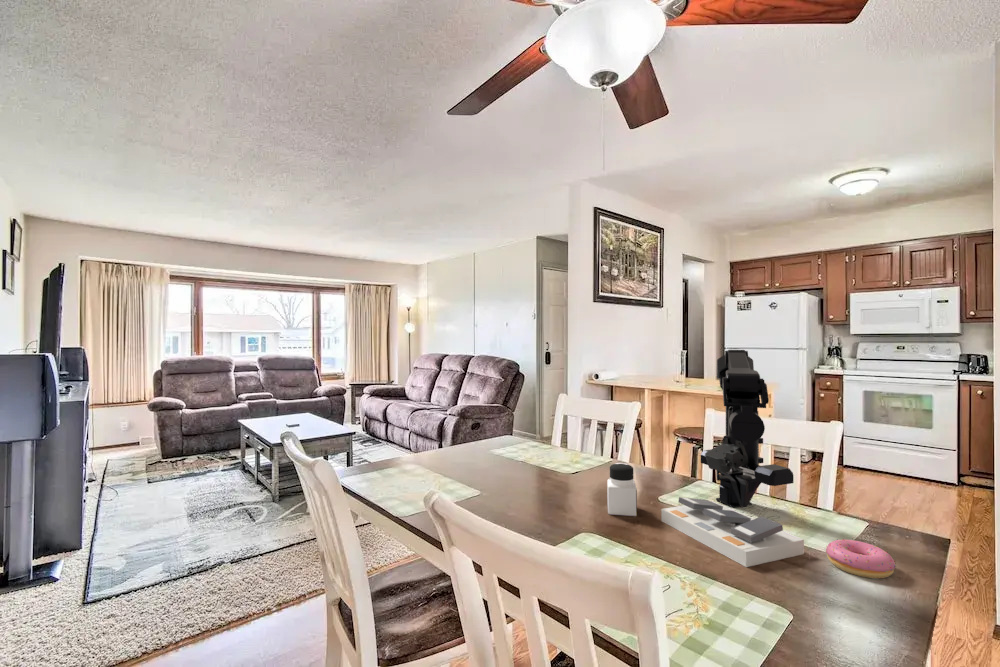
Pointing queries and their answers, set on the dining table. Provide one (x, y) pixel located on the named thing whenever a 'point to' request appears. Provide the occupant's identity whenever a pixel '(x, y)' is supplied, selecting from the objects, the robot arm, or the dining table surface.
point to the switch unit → (731, 537)
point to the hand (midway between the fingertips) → (743, 506)
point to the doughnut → (860, 558)
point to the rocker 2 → (756, 529)
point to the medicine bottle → (621, 490)
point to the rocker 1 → (699, 504)
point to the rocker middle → (726, 516)
